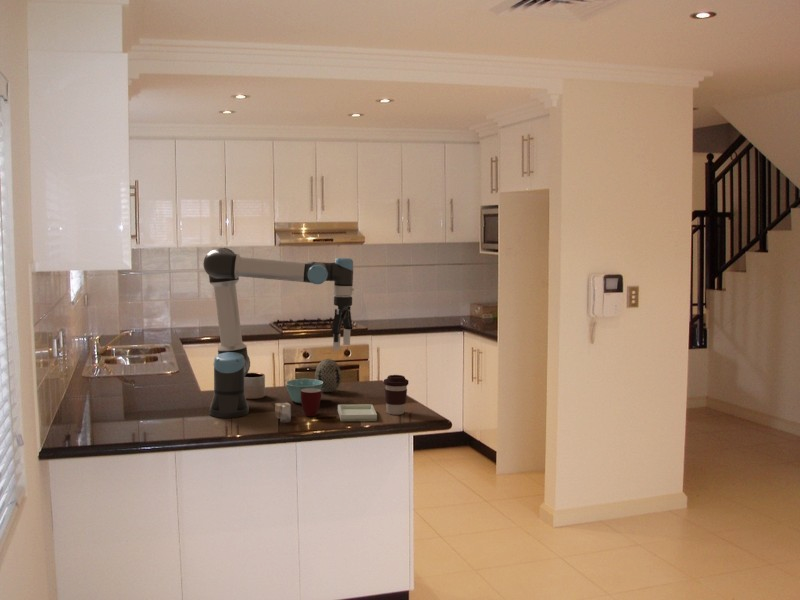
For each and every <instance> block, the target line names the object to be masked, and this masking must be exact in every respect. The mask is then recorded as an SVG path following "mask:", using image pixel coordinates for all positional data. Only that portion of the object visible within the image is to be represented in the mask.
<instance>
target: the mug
mask: <svg viewBox="0 0 800 600" xmlns="http://www.w3.org/2000/svg"><path fill="white" fill-rule="evenodd" d="M321 399H322V390H320V389H316V388H306V389H302V390H301V403H300V404H301V408H302V411H303V413H304V415H305V416H306V417H315V416H316V415H317V413H318V411H319V409H320V406H321Z"/></svg>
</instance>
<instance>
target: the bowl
mask: <svg viewBox="0 0 800 600" xmlns="http://www.w3.org/2000/svg"><path fill="white" fill-rule="evenodd" d="M322 385H323V382H322V381H320V380H316V379H315V378H297V379H290V380H288V381H285V387H286V390H287V392H288V394H289V397H290V400H292V401H293V402H294V403H295V404H302V403H301V390H302V389H306V388H316V389H320V390H321V388H322ZM321 391H322V390H321Z"/></svg>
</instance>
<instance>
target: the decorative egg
mask: <svg viewBox="0 0 800 600" xmlns="http://www.w3.org/2000/svg"><path fill="white" fill-rule="evenodd" d="M315 368H316V369H315V372H314V379H316V380H320V381H322V382H323V385H322V388H321V392H324V393H332V392H334V391H336V390H338V388H339V387H340V385H341V382H342V372H341V368H340V365H339V364H338V363H337V362H336V361H334V360H333V359H331V358H325V359H322V360H321V361H320V362H319V363H318V364H317V366H316V367H315Z"/></svg>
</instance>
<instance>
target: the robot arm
mask: <svg viewBox="0 0 800 600" xmlns="http://www.w3.org/2000/svg"><path fill="white" fill-rule="evenodd" d="M202 262H203V263H202V264H203V269H204V271H205V272H206V274H207V275H208V278H209V279H208V280H209V284H210V285H211V286H212V287H213V289H214V297H215V298H214V299H215V305H216V314H217V315H216V316H217V321H218V322H217V323H218V330H219V338H220V340H219V341H220V346H219V347H218V348H217V355H215V357H214V360H213V372H214V373H213V397H212V400H211V402H210V407H209V415H210V416H212V417H215V418H222V419H225V418H226V419H231V418H239V417H244V416H247V415H248V414H249V411H250V407H249V405H248V402H247V399H246V398H245V395H244V376H245V375H246V374H247V373H249V371H250V367H251V360H250V357H249V355H248V350H247V349H248V346H247V345H246V344H245V342H244V341H243V337H242V329H241V328H242V327H241V321H240V311H239V303H238V293H237V286H236V285H237V283H238V282H239V279H240V278H241V277H242V278H253V279H255V278H256V279H264V280H274V281H275V280H276V281H286V282H287V281H288V282H298V283H309V284H314V285H322V284H324V282H328V281H329V282H334V285H333V295H334V297H333V305H334V306H335V307H336V306H337V308H335V309H334V316H333V321H332V328H331V332H330V333H331V334H332V335H333V338H332V339H333V343H332V345H333V346H332V350H333V351H340V350H341V330H342V326H343V327H344V329H343V338H342V339H343V340H342V342H343V343H342V344H343V345H342V346H351V330H353V329H354V327H353V319H352V312H351V306H352V305H353V297H352V296H353V292H354V287H353V284H354V283H353V282H354V261H353V259H352V258H350V257H349V258H348V257H336V258H335V260H334V262H322V261H321V262H320V261H319V262H318V261H307V262H296V261H286V260H276V259H275V260H274V259H264V258H263V259H262V258H253V257H243V256H240V254H237V253H235V252H234V251H233V250H232V249H230V248H228V247H227V248H226V247H219V248H215V249H212V250H210V251H209V252H208V253H207V254H206V255H204V258H203V261H202Z"/></svg>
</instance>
